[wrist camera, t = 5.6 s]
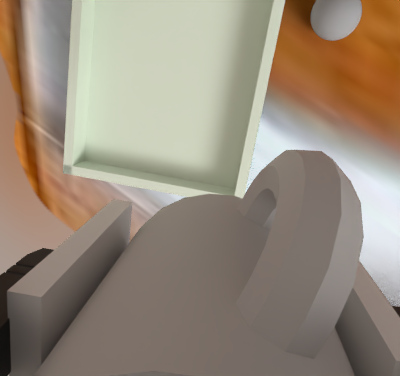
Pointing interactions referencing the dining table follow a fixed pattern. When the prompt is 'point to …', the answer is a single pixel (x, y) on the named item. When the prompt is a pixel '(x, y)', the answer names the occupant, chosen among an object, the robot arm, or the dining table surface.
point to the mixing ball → (335, 18)
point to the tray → (168, 91)
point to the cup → (229, 284)
